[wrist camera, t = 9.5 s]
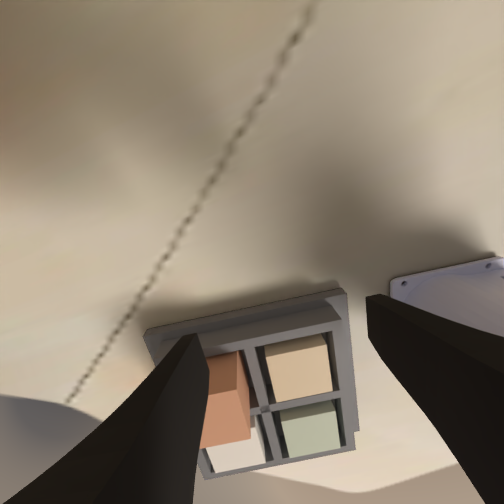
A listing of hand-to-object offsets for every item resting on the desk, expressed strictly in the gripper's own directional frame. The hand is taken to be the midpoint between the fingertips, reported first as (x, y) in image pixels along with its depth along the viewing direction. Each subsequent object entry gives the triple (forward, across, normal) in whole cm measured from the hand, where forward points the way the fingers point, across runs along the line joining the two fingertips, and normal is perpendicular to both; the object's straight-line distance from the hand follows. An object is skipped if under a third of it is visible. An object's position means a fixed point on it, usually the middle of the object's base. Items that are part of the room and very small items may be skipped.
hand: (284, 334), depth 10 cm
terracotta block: (+8, +6, +8) cm, 13 cm away
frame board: (+9, +2, +12) cm, 15 cm away
